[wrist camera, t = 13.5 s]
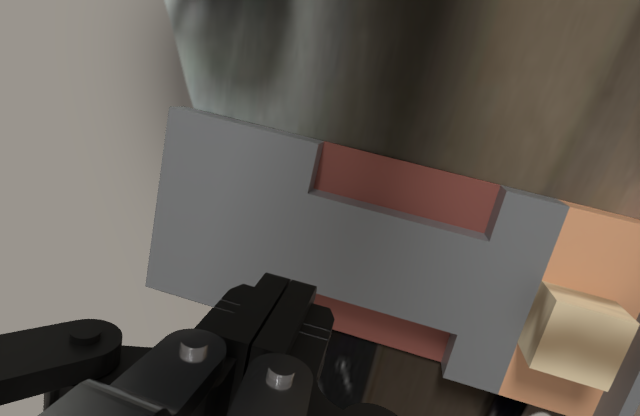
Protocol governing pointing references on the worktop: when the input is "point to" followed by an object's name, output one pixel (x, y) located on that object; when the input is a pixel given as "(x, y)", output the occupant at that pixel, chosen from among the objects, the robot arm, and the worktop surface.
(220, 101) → the worktop surface
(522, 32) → the worktop surface
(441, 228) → the trap deck
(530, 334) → the maple block
